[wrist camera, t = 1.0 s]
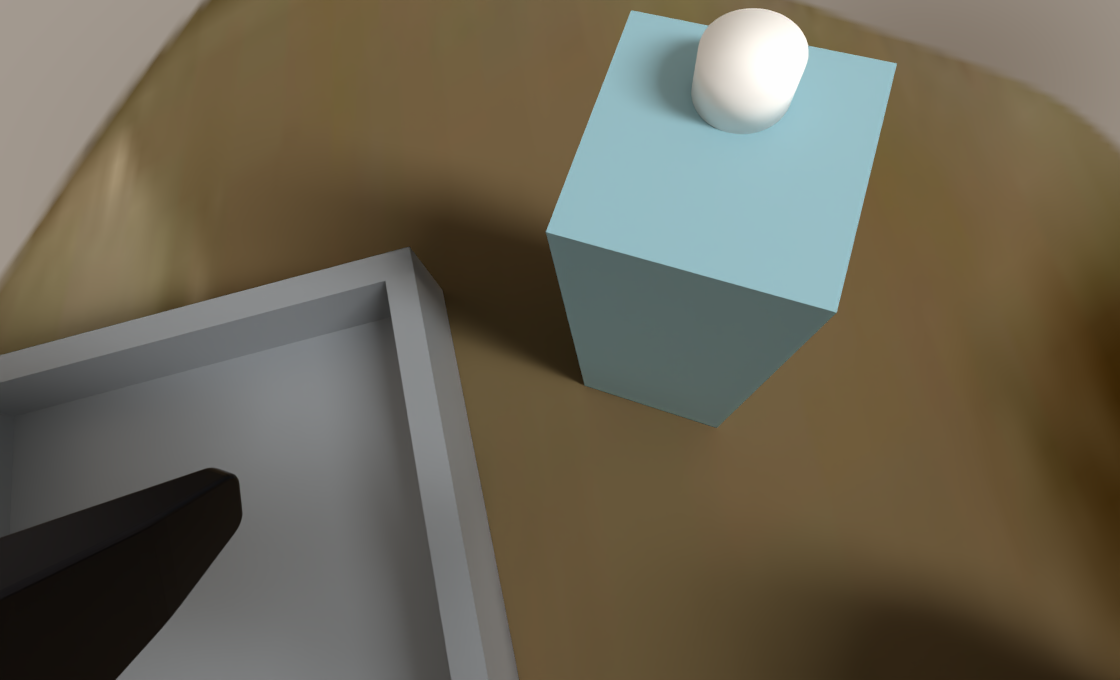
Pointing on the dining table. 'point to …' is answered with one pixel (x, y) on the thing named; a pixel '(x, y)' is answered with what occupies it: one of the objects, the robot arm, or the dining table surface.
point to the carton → (713, 206)
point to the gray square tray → (283, 473)
